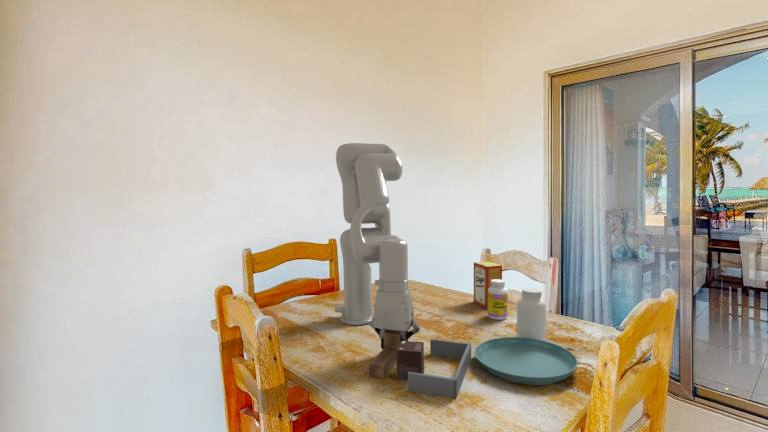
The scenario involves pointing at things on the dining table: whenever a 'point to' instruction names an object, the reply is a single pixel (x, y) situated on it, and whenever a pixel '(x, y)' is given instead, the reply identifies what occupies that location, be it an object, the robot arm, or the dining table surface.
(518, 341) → the teal plate
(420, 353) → the box
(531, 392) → the dining table surface
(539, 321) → the pill bottle
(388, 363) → the brown l-shaped block
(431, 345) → the open-sided frame
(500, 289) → the supplement bottle
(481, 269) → the baking soda box
